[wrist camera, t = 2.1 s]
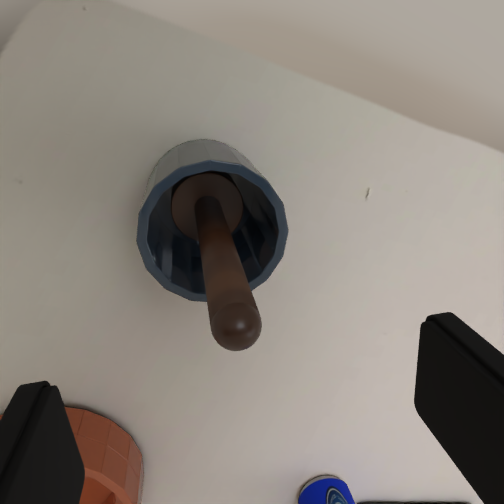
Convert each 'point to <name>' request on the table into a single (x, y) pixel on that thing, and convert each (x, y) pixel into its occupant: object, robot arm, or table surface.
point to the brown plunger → (218, 254)
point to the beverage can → (325, 491)
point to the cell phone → (383, 503)
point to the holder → (188, 250)
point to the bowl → (106, 460)
